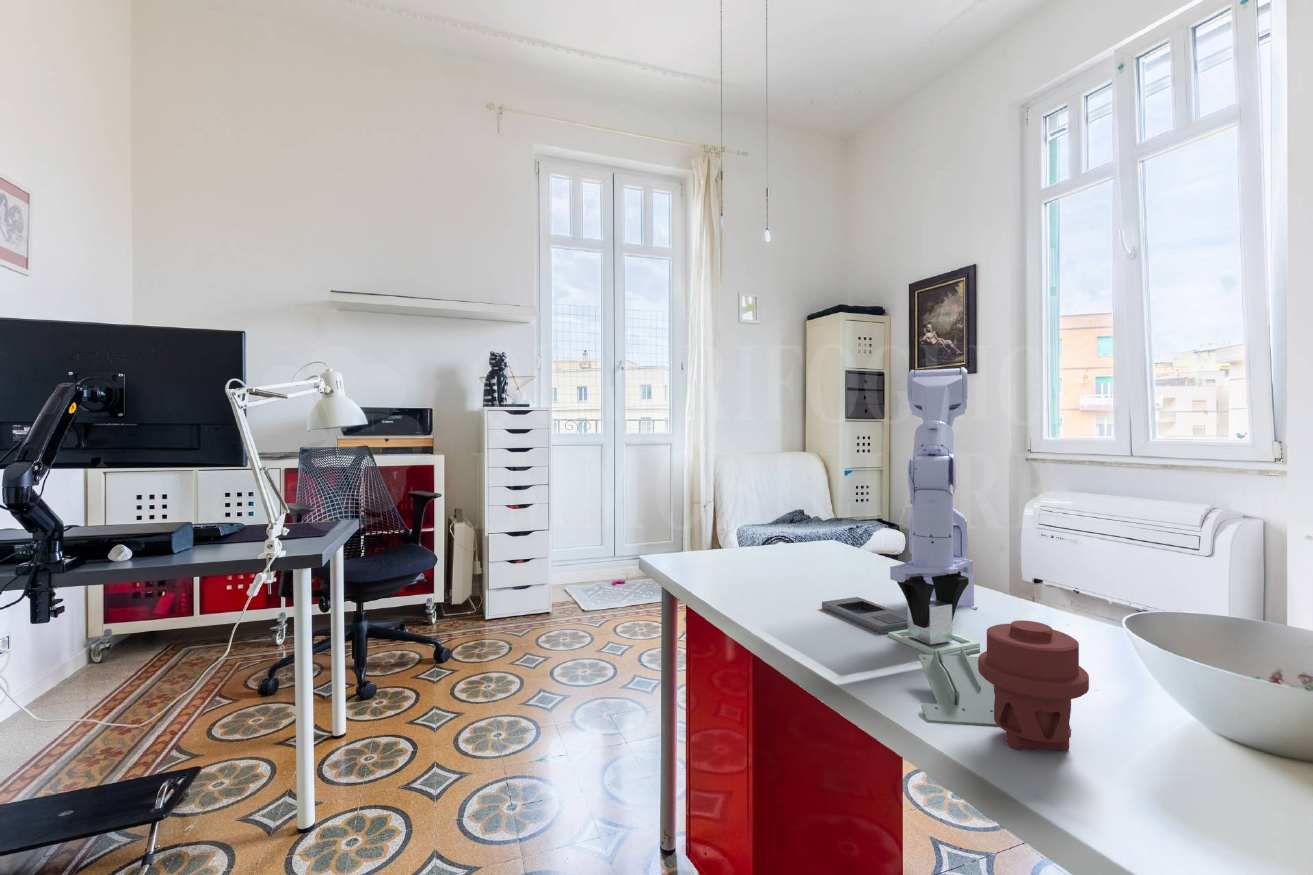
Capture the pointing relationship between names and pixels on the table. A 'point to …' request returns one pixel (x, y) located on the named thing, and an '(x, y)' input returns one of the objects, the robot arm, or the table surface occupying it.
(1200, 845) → the table surface
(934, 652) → the metal bracket
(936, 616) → the cube with square inset
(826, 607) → the plate with square cutouts
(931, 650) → the tray
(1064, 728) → the mechanical component
